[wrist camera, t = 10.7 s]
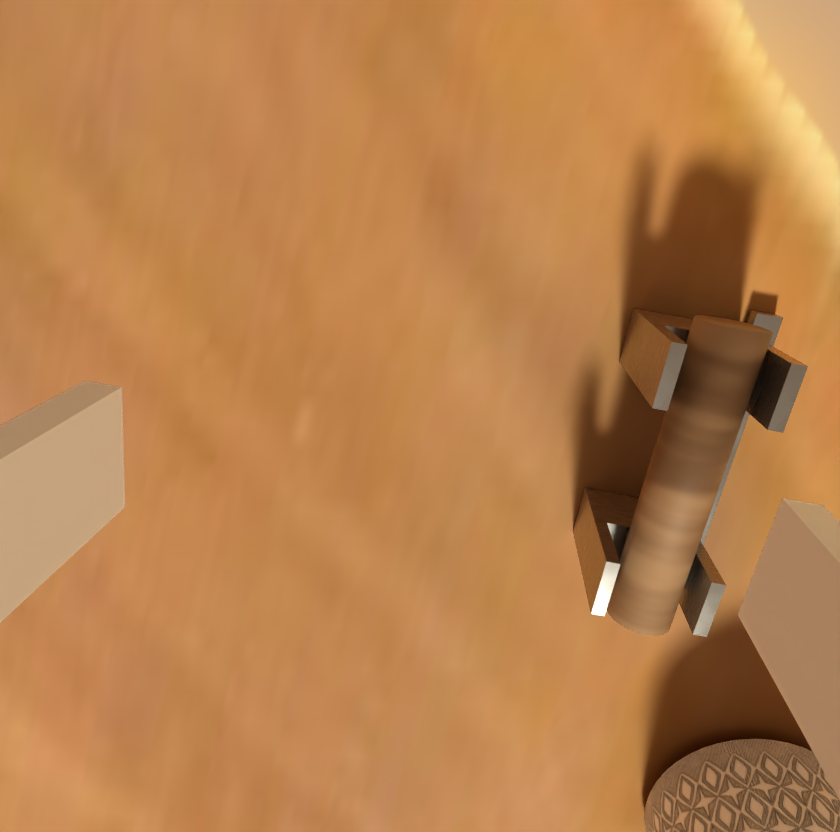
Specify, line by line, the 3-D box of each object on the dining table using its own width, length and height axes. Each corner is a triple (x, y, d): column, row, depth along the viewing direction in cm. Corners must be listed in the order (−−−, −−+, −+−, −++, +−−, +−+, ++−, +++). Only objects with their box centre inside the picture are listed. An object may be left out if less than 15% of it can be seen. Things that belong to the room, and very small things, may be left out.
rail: (697, 311, 38) (691, 319, 35) (772, 328, 37) (773, 338, 33) (612, 588, 45) (600, 618, 41) (673, 612, 43) (666, 644, 40)
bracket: (638, 290, 42) (678, 318, 33) (775, 314, 42) (855, 350, 33) (569, 545, 49) (585, 630, 39) (687, 568, 48) (732, 660, 39)
